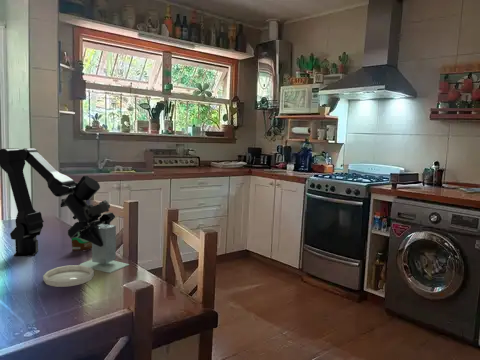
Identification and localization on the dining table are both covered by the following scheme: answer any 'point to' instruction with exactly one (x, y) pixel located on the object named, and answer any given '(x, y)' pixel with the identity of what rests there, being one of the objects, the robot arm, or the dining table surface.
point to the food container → (80, 244)
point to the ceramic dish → (68, 275)
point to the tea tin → (105, 244)
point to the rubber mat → (105, 266)
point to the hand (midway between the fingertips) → (107, 243)
